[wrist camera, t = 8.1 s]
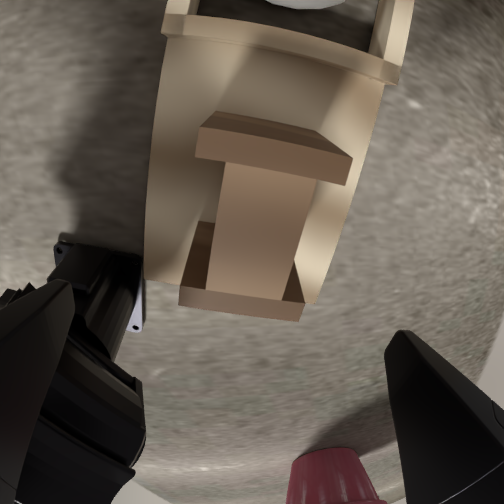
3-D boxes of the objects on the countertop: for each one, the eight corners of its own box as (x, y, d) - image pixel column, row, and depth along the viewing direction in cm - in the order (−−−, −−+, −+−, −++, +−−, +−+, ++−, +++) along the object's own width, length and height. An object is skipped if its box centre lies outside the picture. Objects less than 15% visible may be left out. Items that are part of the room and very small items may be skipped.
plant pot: (289, 439, 32) (299, 538, 21) (391, 433, 34) (414, 516, 23) (263, 477, 39) (266, 551, 28) (347, 473, 41) (359, 539, 29)
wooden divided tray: (312, 296, 21) (334, 376, 15) (146, 271, 20) (115, 348, 14) (405, -66, 9) (466, -104, 3) (217, -113, 8) (207, -178, 2)
